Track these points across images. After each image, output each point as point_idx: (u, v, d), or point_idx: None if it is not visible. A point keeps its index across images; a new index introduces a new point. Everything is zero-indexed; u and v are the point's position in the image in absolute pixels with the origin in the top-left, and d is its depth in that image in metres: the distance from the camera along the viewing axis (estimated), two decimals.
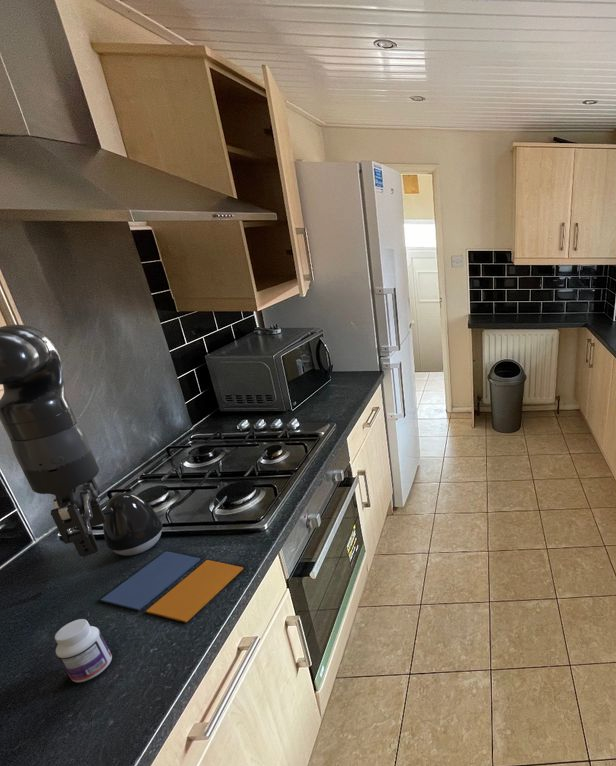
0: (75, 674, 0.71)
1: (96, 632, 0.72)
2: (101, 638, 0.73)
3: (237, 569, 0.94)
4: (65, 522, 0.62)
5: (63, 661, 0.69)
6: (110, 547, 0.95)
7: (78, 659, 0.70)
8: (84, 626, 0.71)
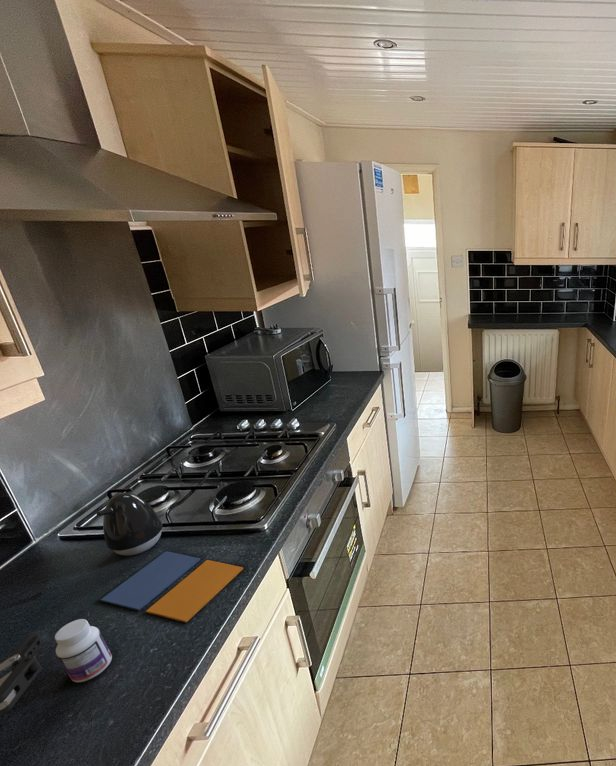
0: (75, 674, 0.71)
1: (96, 632, 0.72)
2: (101, 638, 0.73)
3: (237, 569, 0.94)
4: None
5: (63, 661, 0.69)
6: (110, 547, 0.95)
7: (78, 659, 0.70)
8: (84, 626, 0.71)
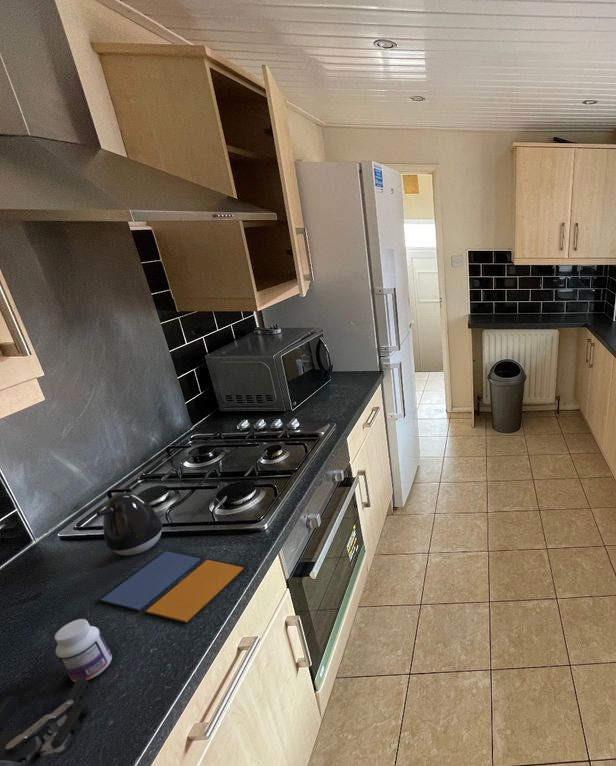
0: (75, 674, 0.71)
1: (96, 632, 0.72)
2: (101, 638, 0.73)
3: (237, 569, 0.94)
4: None
5: (63, 661, 0.69)
6: (110, 547, 0.95)
7: (78, 659, 0.70)
8: (84, 626, 0.71)
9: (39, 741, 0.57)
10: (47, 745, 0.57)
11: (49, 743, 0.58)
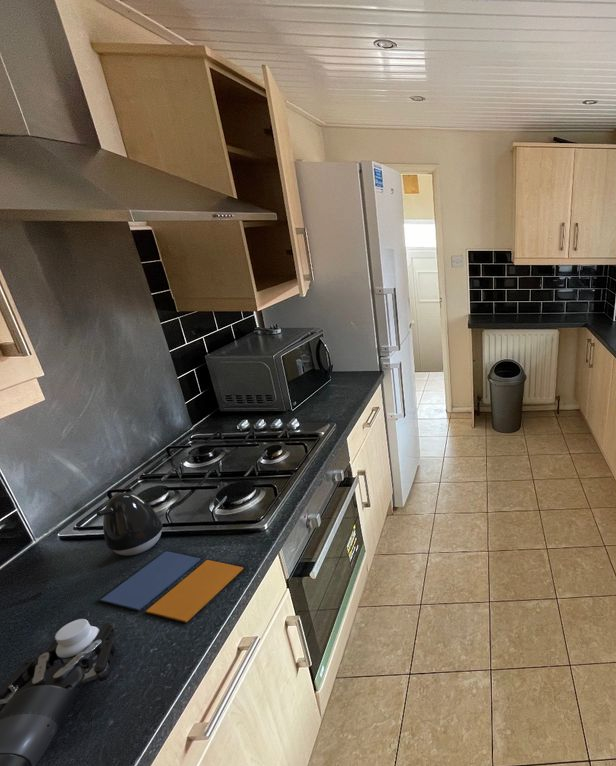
0: None
1: (97, 632, 0.72)
2: None
3: (237, 569, 0.94)
4: None
5: (63, 660, 0.69)
6: (110, 547, 0.95)
7: None
8: (84, 626, 0.71)
9: (82, 673, 0.66)
10: (89, 673, 0.67)
11: (90, 672, 0.67)
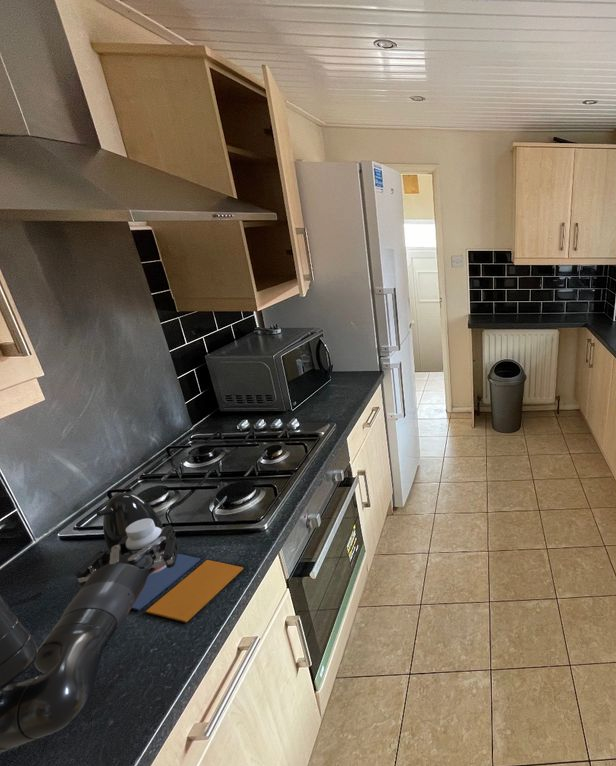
0: None
1: (160, 531, 0.79)
2: None
3: (237, 569, 0.94)
4: None
5: (132, 552, 0.76)
6: (110, 547, 0.95)
7: None
8: (151, 523, 0.78)
9: (151, 559, 0.73)
10: (158, 560, 0.73)
11: (159, 559, 0.74)
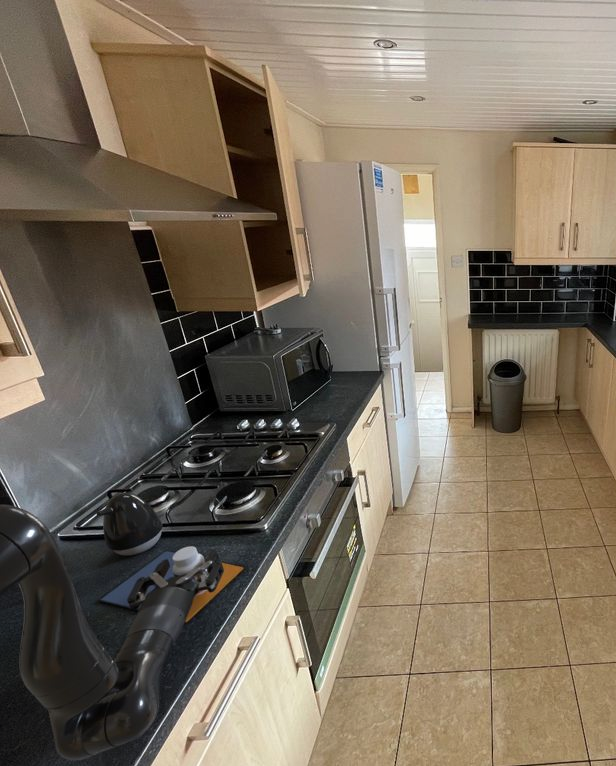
0: None
1: (202, 557, 0.88)
2: None
3: (237, 569, 0.94)
4: None
5: None
6: (110, 547, 0.95)
7: None
8: (194, 551, 0.86)
9: (196, 581, 0.81)
10: (201, 584, 0.81)
11: (203, 583, 0.81)
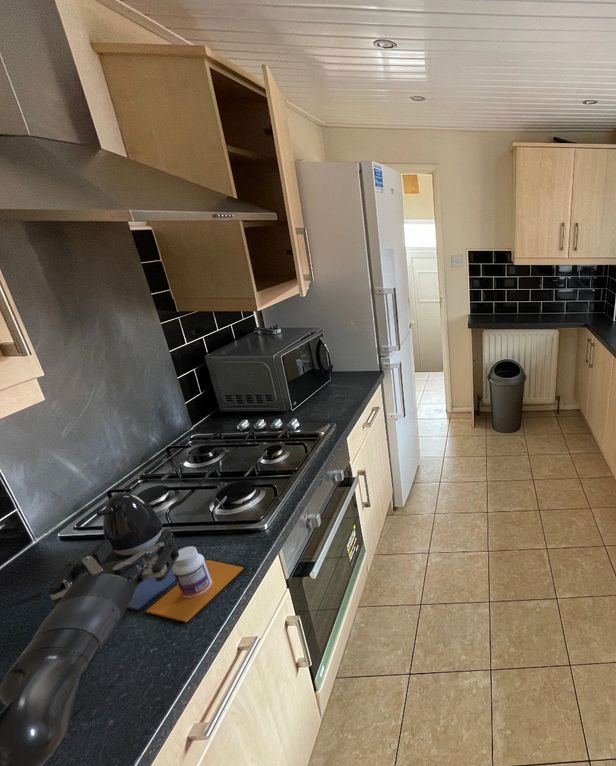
0: (187, 590, 0.86)
1: (202, 557, 0.88)
2: (205, 563, 0.89)
3: (237, 569, 0.94)
4: None
5: (179, 578, 0.85)
6: None
7: (190, 577, 0.85)
8: (194, 551, 0.86)
9: (140, 568, 0.64)
10: (147, 571, 0.64)
11: (149, 570, 0.64)
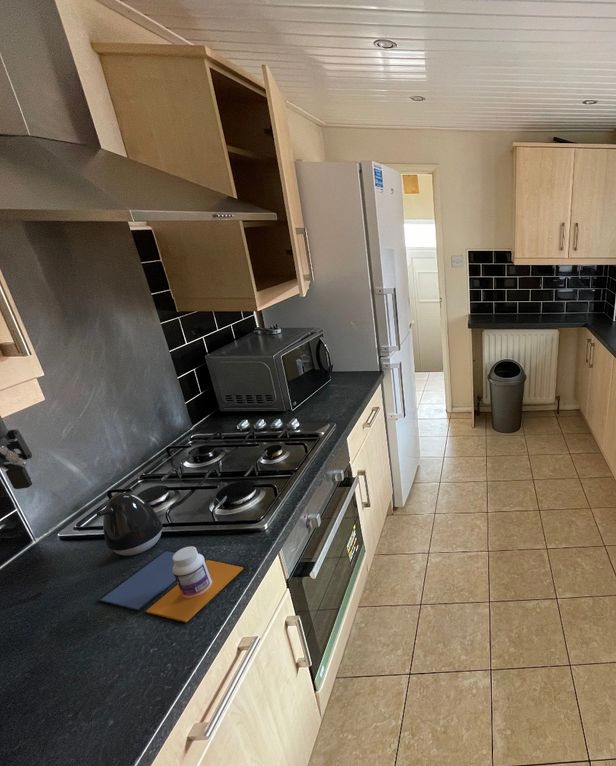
0: (187, 590, 0.86)
1: (202, 557, 0.88)
2: (205, 563, 0.89)
3: (237, 569, 0.94)
4: None
5: (179, 578, 0.85)
6: (110, 547, 0.95)
7: (190, 577, 0.85)
8: (194, 551, 0.86)
9: None
10: None
11: None
